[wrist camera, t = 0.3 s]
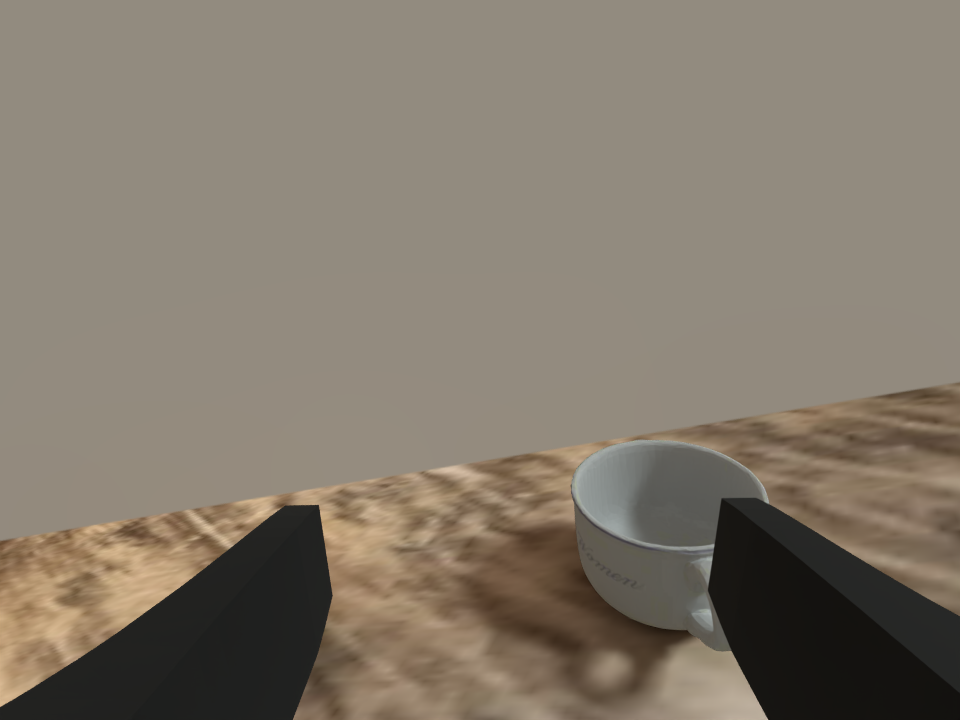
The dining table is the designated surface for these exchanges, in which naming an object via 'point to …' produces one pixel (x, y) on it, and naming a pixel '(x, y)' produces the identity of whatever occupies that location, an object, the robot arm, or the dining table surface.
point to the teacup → (657, 529)
